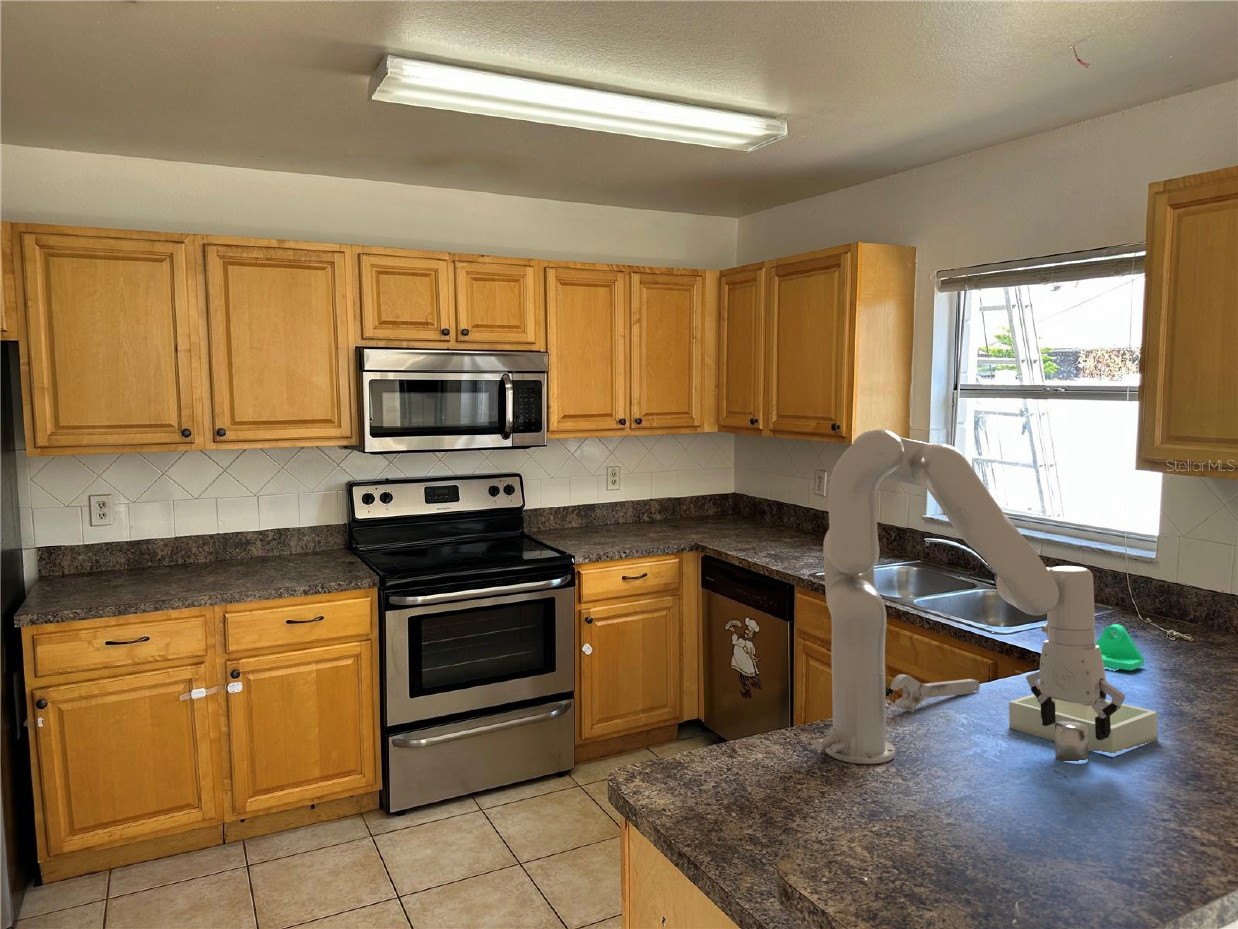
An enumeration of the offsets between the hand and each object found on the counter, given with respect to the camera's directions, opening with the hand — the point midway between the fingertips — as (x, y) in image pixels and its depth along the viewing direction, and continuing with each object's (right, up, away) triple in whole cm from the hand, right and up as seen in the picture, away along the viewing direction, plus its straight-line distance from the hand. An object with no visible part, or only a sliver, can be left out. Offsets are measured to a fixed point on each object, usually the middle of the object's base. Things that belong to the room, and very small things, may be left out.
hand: (1075, 731), depth 151 cm
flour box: (+8, -4, +13) cm, 16 cm away
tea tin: (0, -5, 0) cm, 5 cm away
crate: (+8, -5, +13) cm, 16 cm away
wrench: (-12, -5, +34) cm, 37 cm away
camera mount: (+41, -3, +60) cm, 73 cm away
